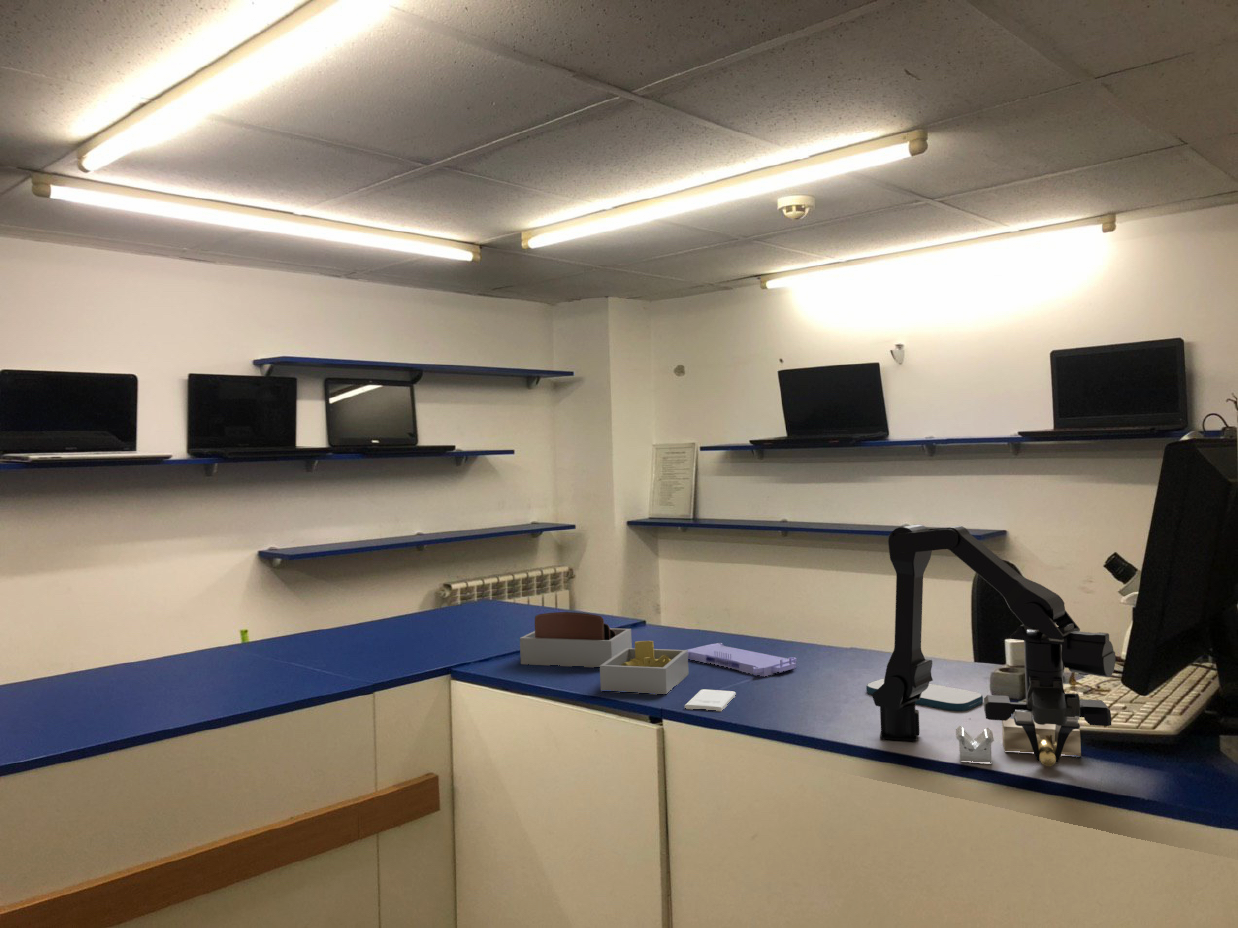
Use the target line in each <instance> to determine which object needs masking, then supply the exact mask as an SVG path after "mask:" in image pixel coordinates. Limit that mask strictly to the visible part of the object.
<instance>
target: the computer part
mask: <svg viewBox="0 0 1238 928" xmlns="http://www.w3.org/2000/svg"><path fill="white" fill-rule="evenodd" d="M687 650H688V659H691V660H695V661H700V662H704V663H707V664H710V663H711V664H710V665H714V664H715V665H714V666H717V665H719V666H718V667H721V666H724V667H723V668H726V667H728V668H727V669H730V668H732V669H731V670H737V671H739V672H740V671H742V672H741V673H743V672H746V673H745V674H748V673H750V674H749V675H752V674H755V675H754V676H757V675H760V676H759V677H761V676H764V677H763V678H766V677H765V676H767V677H769V676H768V675H771V674H772V675H774V674H773V673H776V672H779V673H778V674H780V673H784V672H786V671H789V670H790V671H791V670H795V669H796V663H797V657H793V656H789V657H788V658H786V657H782V656H776V655H771V654H766V653H761V652H756V651H752V650H746V649H740V648H736V647H731V646H726V645H724V643H722V642H717V643H711V644H706V645H702V646H697V647H694V648H693V647H692V648H688V649H687ZM691 660H690V661H691ZM695 661H694V662H695ZM700 662H699V663H700ZM704 663H703V664H704ZM783 671H784V672H783ZM776 674H777V673H776ZM772 675H771V676H772Z"/></svg>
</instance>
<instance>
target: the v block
mask: <svg viewBox="0 0 1238 928" xmlns="http://www.w3.org/2000/svg"><path fill="white" fill-rule="evenodd" d="M955 735H956V736H955V737H956V740H957V741H958V746H959V747H958V748H959V749H958V751H959V753H960V754H959V753H958V754H959V762H960V761H971V762H972V761H973V762H990V763H991V762H993V760H992V758H993V757H992V743H993V742H994V741H995V740H994V739H995V737H994V734H993V731H992V730H991V729H990V728H989V727H987V728H984V730H983V731H981V732H980V734H978V735H977V736H976V737H975V738H974V737H972V736H971V735H970V734H969V733H968V732H967V731H966V730H965V729H964V727H963V726H961V725H959V726H958V727H957V728H955Z"/></svg>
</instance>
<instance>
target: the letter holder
mask: <svg viewBox="0 0 1238 928" xmlns="http://www.w3.org/2000/svg"><path fill="white" fill-rule="evenodd" d="M610 628H611V627H610V626H609V625H608V624H607V623H605V620H604V618H603V617H602V615H597V614H592V613H584V612H574V611H573V612H572V611H558V612H557V611H556V612H554V611H553V612H548V613H547V612H546V613H545V612H544V613H539V614H536V615H535V617H534V631H535V638H557V639H586V640H610V639H612V638H613V637H615V636H616V634H615V631H614V630H611V629H610Z"/></svg>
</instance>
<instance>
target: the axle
mask: <svg viewBox="0 0 1238 928" xmlns="http://www.w3.org/2000/svg"><path fill="white" fill-rule="evenodd" d="M1036 736H1037V742H1038V748H1039V754H1040V755H1039V757H1040V761H1039V762H1040V763H1041V764H1042V765H1044V766H1045V767H1052V766H1054V765H1055V764H1056V757H1055V754H1054V751H1053V747H1052V744H1051V740H1050V737H1049V735H1042V734H1036Z"/></svg>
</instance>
